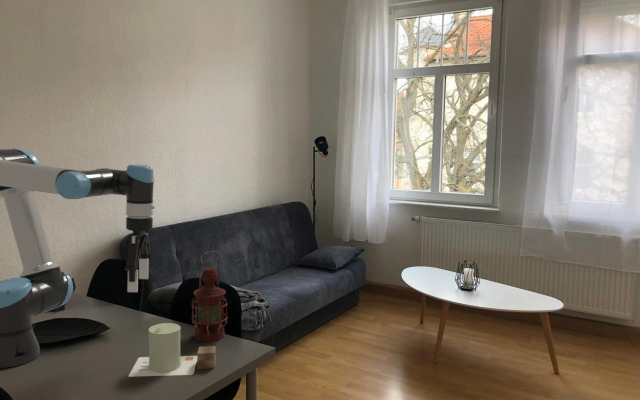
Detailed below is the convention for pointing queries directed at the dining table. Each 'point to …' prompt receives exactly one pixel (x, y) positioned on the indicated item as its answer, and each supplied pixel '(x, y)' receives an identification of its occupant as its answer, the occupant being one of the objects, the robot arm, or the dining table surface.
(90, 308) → the dining table surface
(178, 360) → the can
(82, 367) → the dining table surface
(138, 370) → the letter
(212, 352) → the block
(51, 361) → the dining table surface
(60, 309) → the handheld game console
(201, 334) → the lantern
